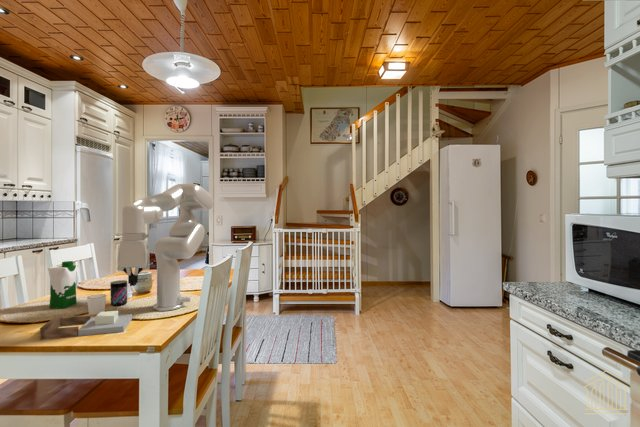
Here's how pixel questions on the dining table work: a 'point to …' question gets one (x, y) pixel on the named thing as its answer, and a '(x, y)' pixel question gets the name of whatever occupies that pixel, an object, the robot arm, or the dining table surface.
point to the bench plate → (105, 326)
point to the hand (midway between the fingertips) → (133, 285)
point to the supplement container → (118, 292)
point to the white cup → (96, 303)
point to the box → (53, 325)
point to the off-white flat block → (106, 318)
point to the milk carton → (63, 285)
